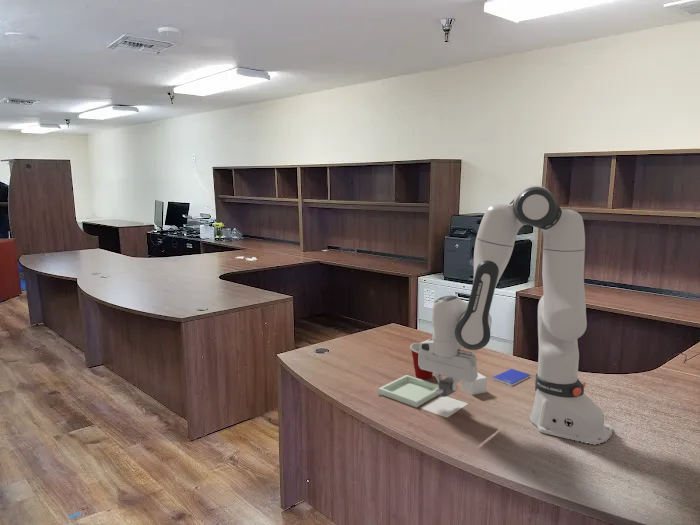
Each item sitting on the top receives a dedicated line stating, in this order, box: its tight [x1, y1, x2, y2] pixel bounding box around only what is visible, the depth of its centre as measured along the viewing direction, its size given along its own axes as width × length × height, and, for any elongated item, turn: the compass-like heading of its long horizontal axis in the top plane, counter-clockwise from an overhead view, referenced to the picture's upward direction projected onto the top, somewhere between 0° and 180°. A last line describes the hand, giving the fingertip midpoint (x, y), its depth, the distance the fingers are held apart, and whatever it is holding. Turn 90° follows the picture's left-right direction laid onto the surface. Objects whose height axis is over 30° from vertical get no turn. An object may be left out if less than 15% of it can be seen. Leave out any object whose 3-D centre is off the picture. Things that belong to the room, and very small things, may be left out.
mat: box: [420, 396, 469, 418], centre depth 161 cm, size 10×13×1 cm
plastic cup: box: [410, 342, 434, 380], centre depth 184 cm, size 11×11×12 cm
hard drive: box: [491, 368, 531, 387], centre depth 184 cm, size 2×8×12 cm
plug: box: [436, 376, 457, 397], centre depth 159 cm, size 9×3×4 cm, turn 137°
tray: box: [377, 374, 439, 409], centre depth 171 cm, size 16×16×2 cm
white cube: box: [461, 372, 488, 396], centre depth 172 cm, size 6×6×6 cm
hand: (447, 387), depth 160 cm, fingers closed on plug, 3 cm apart
